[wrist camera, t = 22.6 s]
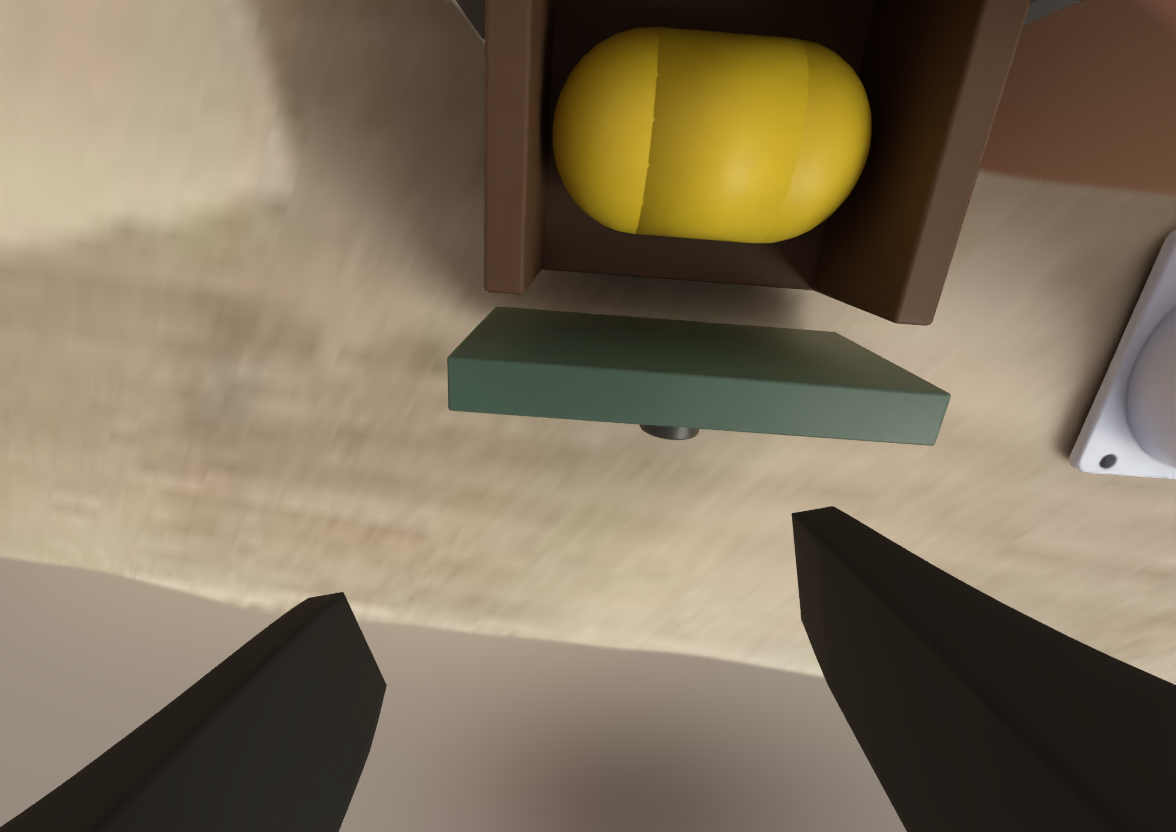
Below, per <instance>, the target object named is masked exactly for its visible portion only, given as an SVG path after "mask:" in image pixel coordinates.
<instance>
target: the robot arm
mask: <svg viewBox="0 0 1176 832" xmlns="http://www.w3.org/2000/svg"><path fill="white" fill-rule="evenodd" d="M1104 456H1105V458H1104V459H1103V460H1102V461H1101V462H1100V460H1101V459H1102V458H1103V457H1104ZM1069 461H1070V464H1071V465H1072V466H1073V467H1074V468H1076V469H1077V470H1079V471H1081V472H1085V473H1095V474H1109V475H1123V476H1136V477H1150V478H1164V479H1176V229H1175V230H1174V231H1173V232H1171V233H1170V234H1169V235H1168V236H1167V238H1166V240H1165V241H1164V243H1163V245H1162V248H1161V250H1160V252H1159V254H1158V257H1157V259H1156V261H1155V264H1154V266H1153V268H1152V270H1151V273H1150V275H1149V277H1148V279H1147V282H1146V284H1145V286H1144V289H1143V291H1142V293H1141V295H1140V298H1139V300H1138V302H1137V305H1136V307H1135V309H1134V311H1133V314H1132V316H1131V318H1130V320H1129V323H1128V325H1127V327H1126V330H1125V332H1124V334H1123V336H1122V339H1121V341H1120V343H1119V345H1118V348H1117V350H1116V352H1115V355H1114V357H1113V359H1112V361H1111V364H1110V366H1109V368H1108V370H1107V373H1106V375H1105V377H1104V380H1103V382H1102V384H1101V386H1100V389H1099V391H1098V393H1097V395H1096V398H1095V400H1094V402H1093V405H1092V407H1091V409H1090V411H1089V414H1088V416H1087V418H1086V421H1085V423H1084V425H1083V427H1082V430H1081V432H1080V434H1079V436H1078V439H1077V441H1076V443H1075V446H1074V448H1073V450H1072V452H1071V455H1070V459H1069ZM792 522H793V533H794V544H795V555H796V566H797V577H798V587H799V598H800V609H801V620H802V622H803V625H804V627H805V630H806V632H807V635H808V638H809V640H810V643H811V645H812V648H813V650H814V653H815V655H816V658H817V660H818V662H819V665H820V667H821V670H822V672H823V674H824V677H825V679H826V682H827V684H828V686H829V688H830V690H831V692H832V694H833V695H834V697H835V699H836V701H837V703H838V705H839V707H840V708H841V711H842V712H843V714H844V716H845V718H846V720H847V722H848V723H849V725H850V727H851V729H852V731H853V733H854V735H855V737H856V739H857V740H858V742H859V744H860V746H861V748H862V749H863V751H864V753H865V755H866V757H867V759H868V760H869V762H870V764H871V766H872V768H873V770H874V772H875V773H876V775H877V777H878V779H879V781H880V783H881V785H882V786H883V788H884V790H885V792H886V794H887V796H888V797H889V799H890V801H891V803H892V805H893V807H894V808H895V810H896V812H897V814H898V816H899V818H900V820H901V821H902V823H903V825H904V827H905V829H906V831H907V832H1176V685H1174V684H1172V683H1170V682H1167V681H1165V680H1163V679H1161V678H1158V677H1156V676H1154V675H1152V674H1149V673H1147V672H1145V671H1143V670H1140V669H1138V668H1136V667H1133V666H1131V665H1129V664H1127V663H1124V662H1122V661H1120V660H1118V659H1115V658H1113V657H1111V656H1109V655H1107V654H1104V653H1102V652H1100V651H1098V650H1096V649H1094V648H1092V647H1090V646H1087V645H1085V644H1083V643H1081V642H1079V641H1077V640H1075V639H1073V638H1071V637H1068V636H1066V635H1064V634H1062V633H1060V632H1058V631H1056V630H1054V629H1053V628H1051V627H1049V626H1047V625H1045V624H1043V623H1041V622H1039V621H1037V620H1035V619H1033V618H1031V617H1029V616H1027V615H1025V614H1023V613H1021V612H1019V611H1017V610H1015V609H1013V608H1011V607H1009V606H1007V605H1005V604H1003V603H1001V602H999V601H997V600H996V599H994V598H992V597H990V596H988V595H986V594H984V593H983V592H981V591H979V590H977V589H975V588H973V587H971V586H970V585H968V584H966V583H964V582H962V581H961V580H959V579H957V578H955V577H953V576H952V575H950V574H948V573H946V572H944V571H943V570H941V569H939V568H937V567H936V566H934V565H932V564H930V563H929V562H927V561H925V560H923V559H922V558H920V557H918V556H917V555H915V554H913V553H911V552H910V551H908V550H906V549H905V548H903V547H901V546H900V545H898V544H896V543H895V542H893V541H891V540H889V539H888V538H886V537H884V536H883V535H881V534H879V533H878V532H876V531H874V530H873V529H871V528H869V527H868V526H866V525H864V524H863V523H861V522H859V521H858V520H856V519H854V518H853V517H851V516H849V515H848V514H846V513H844V512H842V511H841V510H839V509H837V508H835V507H833V506H831V507H826V508H820V509H814V510H809V511H803V512H797V513H792ZM385 690H386V683H385V681H384V679H383V677H382V674H381V673H380V670H379V668H378V666H377V664H376V661H375V660H374V657H373V655H372V653H371V651H370V649H369V646H368V644H367V642H366V640H365V638H364V636H363V634H362V631H361V630H360V627H359V625H358V623H357V621H356V618H355V616H354V614H353V612H352V610H351V608H350V605H349V603H348V601H347V599H346V597H345V595H344V593H343V592H340V593H334V594H329V595H323V596H317V597H311V598H308V599H306V600H305V601H303V602H302V603H300V604H298V605H297V606H295V607H294V608H292V609H291V610H290V611H288V612H287V613H285V614H284V615H283V616H281V617H280V618H279V619H277V620H276V621H274V622H273V623H272V624H270V625H269V626H268V627H267V628H265V629H264V630H263V631H261V632H260V633H259V634H257V635H256V636H255V637H254V638H252V639H251V640H250V641H248V642H247V643H246V644H245V645H243V646H242V647H241V648H240V649H238V650H237V651H236V652H234V653H233V654H232V655H231V656H229V657H228V658H227V659H225V660H224V661H223V662H222V663H220V664H219V665H218V666H217V667H215V668H214V669H213V670H211V671H210V672H209V673H208V674H206V675H205V676H204V677H203V678H201V679H200V680H199V681H198V682H196V683H195V684H194V685H193V686H191V687H190V688H189V689H187V690H186V691H185V692H183V693H182V694H181V695H180V696H178V697H177V698H176V699H175V700H173V701H172V702H171V703H169V704H168V705H167V706H166V707H164V708H163V709H162V710H160V711H159V712H158V713H157V714H155V715H154V716H153V717H151V718H150V719H148V720H147V721H146V722H145V723H143V724H142V725H140V726H139V727H138V728H137V729H135V730H134V731H133V732H131V733H130V734H129V735H127V736H126V737H125V738H123V739H122V740H121V741H119V742H118V743H117V744H115V745H114V746H113V747H111V748H110V749H109V750H107V751H106V752H105V753H103V754H102V755H101V756H99V757H98V758H97V759H95V760H94V761H93V762H91V763H90V764H89V765H87V766H86V767H85V768H84V769H82V770H81V771H79V772H78V773H77V774H76V775H74V776H73V777H71V778H70V779H69V780H67V781H66V782H64V783H63V784H62V785H60V786H59V787H57V788H56V789H55V790H53V791H52V792H50V793H49V794H48V795H46V796H45V797H43V798H42V799H41V800H39V801H38V802H36V803H35V804H33V805H32V806H31V807H29V808H28V809H26V810H25V811H24V812H22V813H21V814H19V815H18V816H16V817H15V818H13V819H12V820H10V821H9V822H7V823H6V824H4V825H3V826H1V827H0V832H339V829H340V827H341V824H342V822H343V819H344V817H345V814H346V812H347V809H348V806H349V804H350V801H351V799H352V796H353V794H354V791H355V789H356V786H357V783H358V781H359V778H360V775H361V773H362V770H363V768H364V765H365V762H366V760H367V757H368V754H369V752H370V748H371V744H372V741H373V737H374V734H375V730H376V727H377V723H378V719H379V715H380V711H381V707H382V702H383V698H384V694H385Z"/></svg>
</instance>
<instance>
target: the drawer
mask: <svg viewBox="0 0 1176 832" xmlns="http://www.w3.org/2000/svg"><path fill="white" fill-rule="evenodd" d="M1030 2H1031V0H485V201H484V288H485V290H486V291H488V292H493V293H506V294H522V293H524V291H525V290H526V289H527V288H528V286H529V285H530V284H531V283H532V281H533V280H534V279H535V278H536V276H537V275H538V274H539V273H540V271H541V270H542V269H544V270H557V271H570V272H583V273H596V274H609V275H622V276H635V277H648V278H661V279H674V280H687V281H700V282H712V283H725V284H738V285H751V286H764V287H777V288H790V289H803V290H814V291H816V292H819V293H821V294H824V295H826V296H829V297H831V298H834V299H836V300H839V301H841V302H844V303H846V304H849V305H851V306H854V307H856V308H859V309H861V310H864V311H866V312H869V313H871V314H874V315H876V316H879V317H881V318H884V319H886V320H889V321H891V322H894V323H899V324H912V325H925V326H926V325H930V324H931V323H932V322H933V318H934V315H935V312H936V308H937V305H938V302H939V299H940V295H941V292H942V289H943V286H944V282H945V279H946V276H947V273H948V269H949V266H950V263H951V260H952V256H953V253H954V250H955V247H956V243H957V240H958V237H959V234H960V230H961V227H962V224H963V221H964V217H965V214H966V211H967V207H968V204H969V201H970V198H971V194H972V191H973V188H974V185H975V181H976V178H977V175H978V172H979V168H980V165H981V162H982V159H983V155H984V152H985V149H986V146H987V142H988V139H989V136H990V132H991V129H992V126H993V123H994V120H995V116H996V113H997V110H998V106H999V103H1000V100H1001V97H1002V93H1003V90H1004V87H1005V84H1006V80H1007V77H1008V74H1009V71H1010V67H1011V64H1012V61H1013V58H1014V54H1015V51H1016V48H1017V44H1018V41H1019V38H1020V35H1021V32H1022V28H1023V25H1024V22H1025V18H1026V15H1027V12H1028V9H1029V5H1030ZM647 27H666V28H678V29H690V30H702V31H714V32H726V33H737V34H749V35H761V36H773V37H785V38H797V39H801V40H806V41H810V42H815V43H819V44H821V45H823V46H824V47H826V48H828V49H830V50H832V51H834V52H835V53H837V54H838V55H839V56H840V57H841V58H842V59H843V60H844V61H845V62H847V63H848V64H849V65H850V66H851V67H852V68H853V69H854V71H855V73H856V74H857V76H858V77H859V79H860V81H861V82H862V84H863V86H864V88H865V91H866V94H867V98H868V101H869V104H870V109H871V116H872V135H871V144H870V150H869V154H868V158H867V161H866V164H865V167H864V169H863V171H862V174H861V176H860V177H859V179H858V181H857V183H856V185H855V187H854V188H853V190H852V192H851V193H850V195H849V196H848V198H847V199H846V200H845V201H844V202H843V203H842V204H841V205H840V206H839V208H838V209H837V210H836V211H835V212H834V213H833V214H832V215H831V216H830V217H828V218H827V219H826V220H824V221H823V222H821V223H820V224H819V225H817V226H816V227H814V228H813V229H812V230H810V231H808V232H805V233H803V234H801V235H799V236H796V237H794V238H791V239H787V240H782V241H778V242H774V243H744V242H731V241H718V240H705V239H692V238H679V237H667V236H654V235H641V234H631V233H626V232H620V231H616V230H614V229H611V228H609V227H607V226H604V225H602V224H600V223H599V222H597V221H596V220H594V219H593V218H591V217H590V216H588V215H587V214H586V213H585V212H584V211H583V210H582V209H581V208H580V207H579V206H578V205H577V204H576V203H575V202H574V200H573V198H572V197H571V195H570V194H569V192H568V191H567V189H566V188H565V186H564V184H563V181H562V179H561V177H560V174H559V172H558V170H557V165H556V161H555V156H554V152H553V121H554V112H555V109H556V105H557V102H558V99H559V95H560V92H561V90H562V88H563V86H564V84H565V82H566V80H567V78H568V76H569V74H570V73H571V71H572V70H573V69H574V68H575V66H576V65H577V64H578V62H579V61H580V60H581V59H582V57H583V56H584V55H586V54H587V53H588V52H589V51H590V50H591V49H593V48H594V47H595V46H596V45H597V44H598V43H600V42H602V41H604V40H606V39H607V38H609V37H611V36H613V35H615V34H617V33H620V32H624V31H627V30H631V29H634V28H647ZM447 362H448V408H449V410H451V411H464V412H477V413H491V414H505V415H518V416H532V417H546V418H560V419H573V420H587V421H601V422H615V423H628V424H640V427H641V429H642V430H643V431H645V432H646V433H648V434H650V435H653V436H656V437H659V438H664V439H671V440H685V439H690V438H693V437H695V436H696V435H697V434H698V432H699V429H711V430H724V431H738V432H752V433H766V434H779V435H793V436H807V437H821V438H834V439H848V440H862V441H876V442H889V443H903V444H917V445H930V446H932V445H934V444H935V442H936V439H937V436H938V433H939V430H940V427H941V424H942V421H943V418H944V415H945V412H946V409H947V406H948V403H949V400H950V397H951V395H950V394H949V393H948V392H946V391H944V390H942V389H940V388H938V387H936V386H934V385H933V384H931V383H929V382H927V381H925V380H923V379H921V378H920V377H918V376H916V375H914V374H912V373H910V372H908V371H907V370H905V369H903V368H901V367H899V366H897V365H895V364H894V363H892V362H890V361H888V360H886V359H884V358H882V357H880V356H879V355H877V354H875V353H873V352H871V351H869V350H867V349H866V348H864V347H862V346H860V345H858V344H856V343H854V342H853V341H851V340H849V339H847V338H845V337H843V336H841V335H839V334H838V333H836V332H826V331H813V330H800V329H787V328H774V327H761V326H747V325H734V324H721V323H708V322H695V321H682V320H668V319H655V318H642V317H629V316H616V315H603V314H589V313H576V312H563V311H550V310H537V309H524V308H510V307H495V308H494V309H493V310H492V311H491V312H490V313H489V314H488V315H487V317H486V318H485V319H484V320H483V321H482V322H481V323H480V324H479V325H478V326H477V327H476V328H475V329H474V330H473V331H472V332H471V333H470V334H469V335H468V336H467V337H466V339H465V340H464V341H463V342H462V343H461V344H460V345H459V346H458V347H457V348H456V349H455V350H454V351H453V352H452V353H451V354H450V355H449V356H448V358H447Z"/></svg>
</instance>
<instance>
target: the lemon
mask: <svg viewBox="0 0 1176 832" xmlns="http://www.w3.org/2000/svg"><path fill="white" fill-rule="evenodd" d="M871 135H872V116H871V109H870V104H869V101H868V98H867V94H866V91H865V88H864V86H863V84H862V82H861V81H860V79H859V77H858V76H857V74H856V73H855V71H854V69H853V68H852V67H851V66H850V65H849V64H848V63H847V62H845V61H844V60H843V59H842V58H841V57H840V56H839V55H838V54H837V53H835V52H834V51H832V50H830V49H828V48H826V47H824V46H823V45H821V44H819V43H815V42H810V41H806V40H801V39H797V38H785V37H773V36H761V35H749V34H737V33H726V32H714V31H702V30H690V29H678V28H666V27H647V28H634V29H631V30H627V31H624V32H620V33H617V34H615V35H613V36H611V37H609V38H607V39H606V40H604V41H602V42H600V43H598V44H597V45H596V46H595V47H594V48H593V49H591V50H590V51H589V52H588V53H587V54H586V55H584V56H583V57H582V59H581V60H580V61H579V62H578V64H577V65H576V66H575V68H574V69H573V70H572V71H571V73H570V74H569V76H568V78H567V80H566V82H565V84H564V86H563V88H562V90H561V92H560V95H559V99H558V102H557V105H556V109H555V112H554V121H553V152H554V156H555V161H556V165H557V170H558V172H559V174H560V177H561V179H562V181H563V184H564V186H565V188H566V189H567V191H568V192H569V194H570V195H571V197H572V198H573V200H574V202H575V203H576V204H577V205H578V206H579V207H580V208H581V209H582V210H583V211H584V212H585V213H586V214H587V215H588V216H590V217H591V218H593V219H594V220H596V221H597V222H599V223H600V224H602V225H604V226H607V227H609V228H611V229H614V230H616V231H620V232H626V233H631V234H641V235H654V236H667V237H679V238H692V239H705V240H718V241H731V242H744V243H774V242H778V241H782V240H787V239H791V238H794V237H796V236H799V235H801V234H803V233H805V232H808V231H810V230H812V229H813V228H814V227H816V226H817V225H819V224H820V223H821V222H823V221H824V220H826V219H827V218H828V217H830V216H831V215H832V214H833V213H834V212H835V211H836V210H837V209H838V208H839V206H840V205H841V204H842V203H843V202H844V201H845V200H846V199H847V198H848V196H849V195H850V193H851V192H852V190H853V188H854V187H855V185H856V183H857V181H858V179H859V177H860V176H861V174H862V171H863V169H864V167H865V164H866V161H867V158H868V154H869V150H870V144H871Z"/></svg>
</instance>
